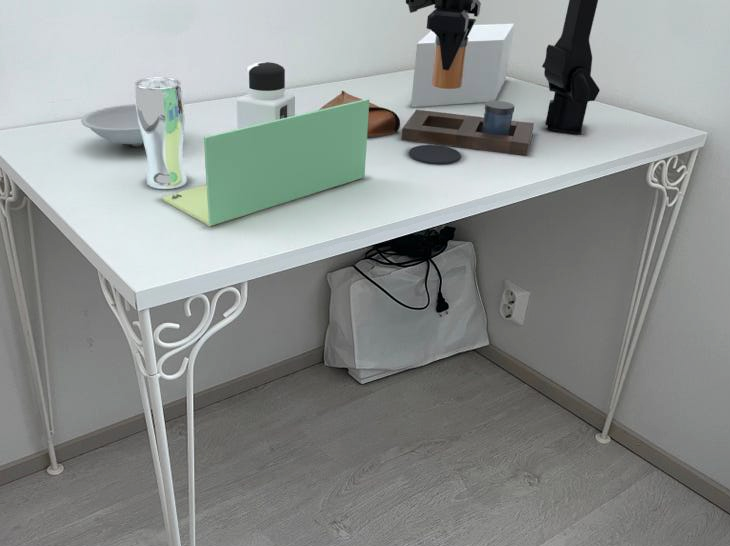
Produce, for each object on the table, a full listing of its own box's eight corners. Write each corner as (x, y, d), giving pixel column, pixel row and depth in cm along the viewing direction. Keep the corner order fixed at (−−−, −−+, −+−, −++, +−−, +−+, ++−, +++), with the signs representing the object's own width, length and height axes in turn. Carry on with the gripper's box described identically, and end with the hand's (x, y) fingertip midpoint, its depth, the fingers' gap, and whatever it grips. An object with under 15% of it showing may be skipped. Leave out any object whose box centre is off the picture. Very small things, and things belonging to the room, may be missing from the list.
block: (379, 98, 160) (383, 36, 153) (474, 72, 180) (482, 17, 173) (444, 116, 150) (452, 51, 143) (537, 87, 170) (548, 29, 163)
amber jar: (464, 83, 135) (470, 35, 130) (459, 90, 130) (465, 41, 126) (433, 79, 136) (438, 32, 132) (427, 87, 132) (433, 38, 127)
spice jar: (509, 138, 139) (516, 102, 136) (507, 146, 135) (513, 110, 132) (482, 134, 141) (487, 99, 137) (478, 142, 136) (483, 106, 133)
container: (295, 137, 136) (296, 62, 129) (275, 149, 130) (275, 72, 123) (258, 131, 138) (256, 57, 131) (237, 142, 133) (234, 66, 125)
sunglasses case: (309, 112, 148) (323, 79, 146) (332, 125, 153) (347, 94, 151) (365, 137, 136) (382, 102, 134) (389, 150, 141) (406, 117, 139)
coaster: (464, 150, 133) (464, 148, 132) (456, 167, 125) (456, 164, 125) (414, 144, 135) (414, 142, 134) (403, 160, 128) (404, 158, 127)
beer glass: (180, 192, 113) (171, 90, 104) (137, 188, 114) (125, 86, 105) (195, 176, 118) (189, 78, 110) (154, 172, 119) (144, 75, 111)
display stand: (211, 226, 103) (205, 137, 96) (162, 199, 110) (153, 115, 103) (364, 178, 120) (369, 99, 113) (313, 157, 127) (314, 82, 120)
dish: (100, 165, 121) (96, 135, 118) (74, 140, 131) (69, 111, 128) (200, 149, 129) (198, 120, 126) (168, 126, 139) (166, 99, 136)
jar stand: (532, 134, 141) (534, 122, 140) (526, 155, 131) (529, 143, 130) (415, 120, 147) (416, 109, 145) (401, 139, 137) (402, 128, 135)
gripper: (423, -43, 132) (414, 51, 141) (400, -31, 117) (391, 73, 126) (486, -38, 129) (473, 57, 138) (471, -26, 114) (457, 80, 123)
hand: (448, 66), depth 131 cm, fingers closed on amber jar, 5 cm apart
